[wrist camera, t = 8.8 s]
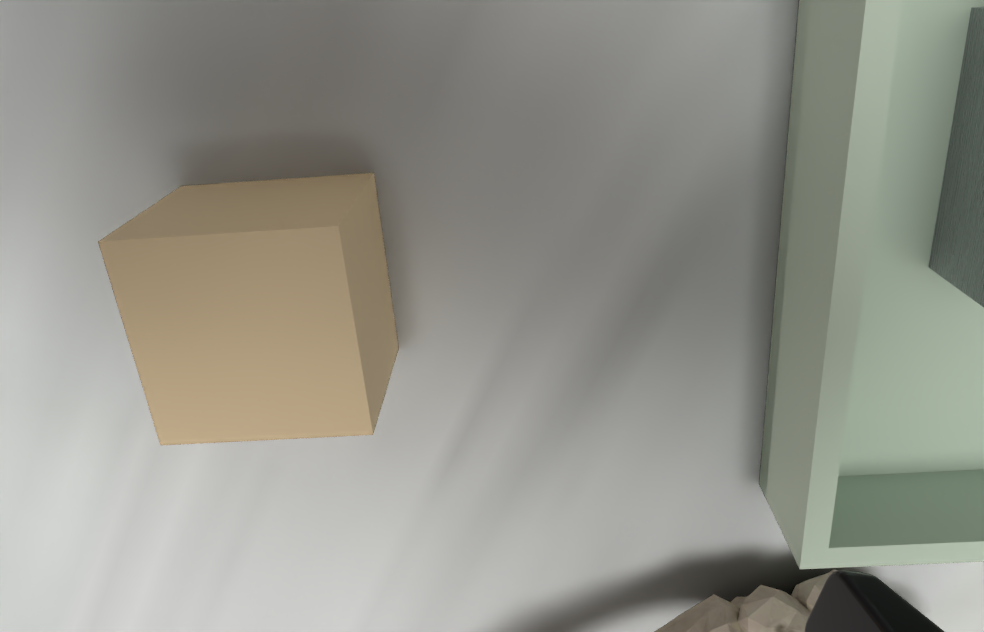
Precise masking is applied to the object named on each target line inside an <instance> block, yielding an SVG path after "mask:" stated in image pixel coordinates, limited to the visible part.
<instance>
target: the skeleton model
mask: <svg viewBox="0 0 984 632" xmlns="http://www.w3.org/2000/svg"><path fill="white" fill-rule="evenodd" d="M834 571H837V570H835V569H834V570H832V571H830V572H829V573H827V574H824V575H821V576H818V577H815V578H812V579H809V580H806V581H804V582H802V583H800V584H798V585H796V586H795V588H794V590H793V592H792V594H791V595H789V594H788V593H786V592H784V591H781V590H778V589H774V588H771V587H767V586H763V585H760V586H759V587H757V588H756V589H755V590H754V591H753V592H752V593H751V594H750V595H749V596H748V597H735V598H734V599H733V600H732V601H731V602H729V601H727V600H725V599H723V598H721V597H719V596H716V595H712V596H710V597H709V598H707V599H705V600H704V601H702V602H700V603H698V604H697V605H695V606H694V607H692V608H690V609H689V610H687V611H685V612H684V613H682V614H681V615H679V616H677V617H676V618H675V619H673V620H672V621H670V622H669V623H667V624H666V625H664V626H663V627H661V628H659V629H658V630H656V631H655V632H805V626H806V622H807V619H808V617H809V615H810V613H811V611H812V609H813V607H814V605H815V603H816V600H817V598H818V596H819V594H820V592H821V590H822V588H823V586H824V584H825V582H826V580H827V578H828V576H829V575H830V574H831V573H833V572H834Z"/></svg>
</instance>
